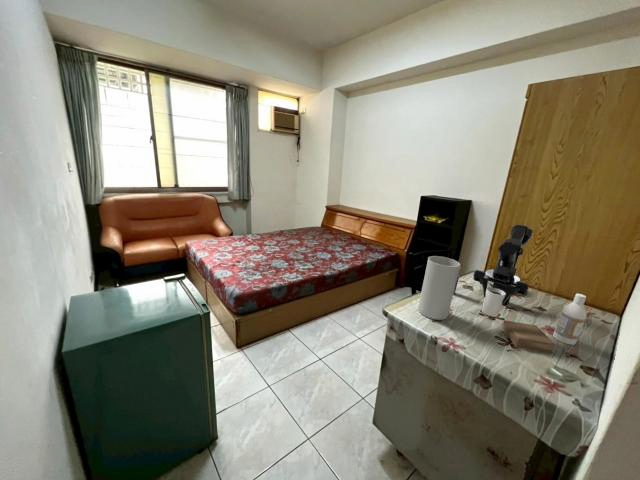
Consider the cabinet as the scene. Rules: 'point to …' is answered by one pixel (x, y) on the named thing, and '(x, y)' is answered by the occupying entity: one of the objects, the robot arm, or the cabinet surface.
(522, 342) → the walnut block
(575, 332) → the bath foam
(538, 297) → the cabinet surface
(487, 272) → the cereal bowl
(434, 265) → the cylinder vase
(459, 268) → the container
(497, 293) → the white cup
